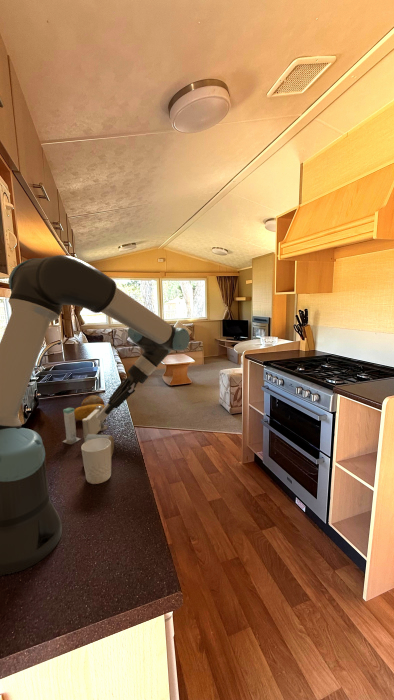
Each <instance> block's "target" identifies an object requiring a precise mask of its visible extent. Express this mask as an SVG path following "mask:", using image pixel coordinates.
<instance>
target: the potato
mask: <svg viewBox="0 0 394 700" xmlns="http://www.w3.org/2000/svg"><path fill="white" fill-rule="evenodd" d="M99 405H101V406H103V408H104V407H105V406H106V405H105V404H104V405H102V404H94V405H87V406H82V407H81V406H79V407H76V408H74V415H75V420H78V421H82V420H83V419H84V418H87V417H88V416H89V415H90V414H91V413H92V412H93V411H94V410H96V406H99Z"/></svg>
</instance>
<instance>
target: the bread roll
mask: <svg viewBox="0 0 394 700" xmlns="http://www.w3.org/2000/svg"><path fill="white" fill-rule="evenodd" d="M94 404H102V405H105V401H104V399H102V397H100V396H99V395H94V394H93V395H88V396H87V397H86V398H84V399H83V400H82V402H81V404H80V405H81V406H80V407H82V406H87V405H94Z"/></svg>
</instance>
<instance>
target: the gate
mask: <svg viewBox="0 0 394 700" xmlns="http://www.w3.org/2000/svg"><path fill="white" fill-rule="evenodd" d="M99 413H100V412H99V410H94V411H93V412H92V413H91V414H90V415H89V416H88V417H87V418H84V419H83V420H81V421H82V433H83V434H82V435H83V442H84V441H85V438H86V436H87V435H88V434H95V435H98V433H99V432H101V431H100V430H101V425H100V420H99V419H97V417H96V416H97V415H98V414H99Z"/></svg>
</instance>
